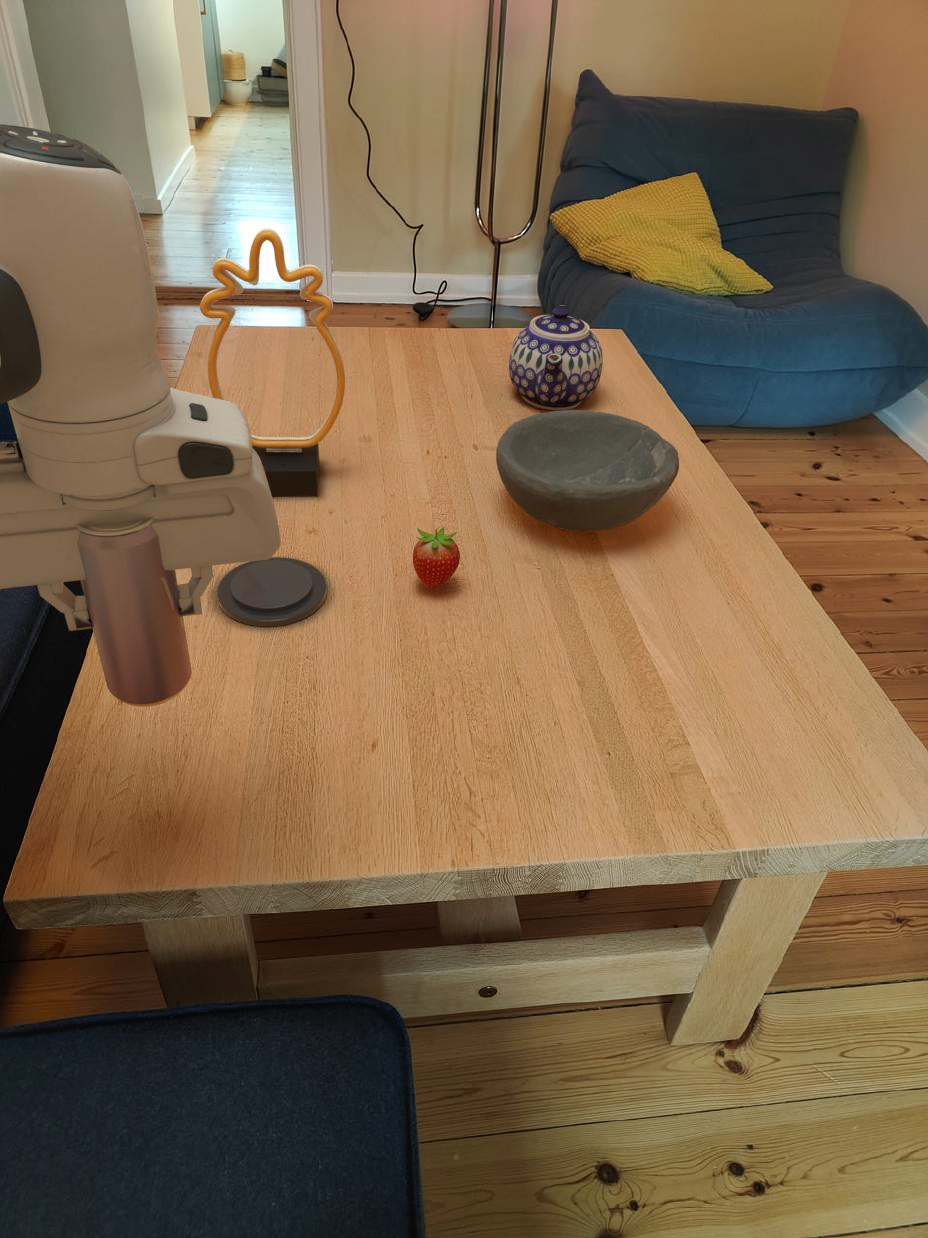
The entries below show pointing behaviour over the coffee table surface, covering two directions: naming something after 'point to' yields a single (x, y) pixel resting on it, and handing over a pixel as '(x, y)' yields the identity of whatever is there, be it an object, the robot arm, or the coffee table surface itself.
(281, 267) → the lamp
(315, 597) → the saucer
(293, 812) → the coffee table surface
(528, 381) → the teapot
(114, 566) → the beverage can
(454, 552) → the fruit
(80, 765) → the coffee table surface
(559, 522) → the bowl
